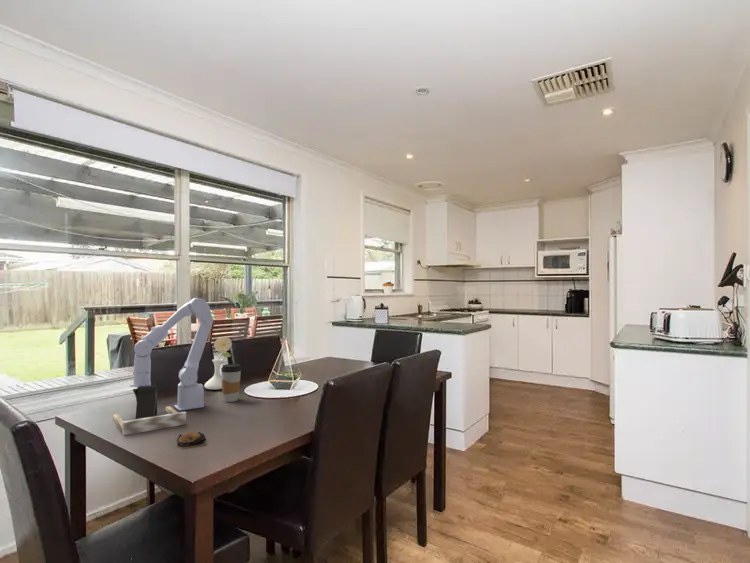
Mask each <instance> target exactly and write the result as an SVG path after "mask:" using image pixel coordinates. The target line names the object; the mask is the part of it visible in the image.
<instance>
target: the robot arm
mask: <svg viewBox="0 0 750 563" xmlns="http://www.w3.org/2000/svg"><path fill="white" fill-rule="evenodd" d="M210 307H211V306H210V305H209V304H208V303H207V301H206V300H205V299H203V298H200V297H193V298H191V299H190V300H189V301H188V302H186V303H185V304H183V305H182V306H181V307H180V308H178V309H177V311H175V312H174V313H173V314H172V315H171V316H170V317H169V318H168V319H166V321H165V322H164V323H163V324H161V325H160V324H159V325H158V324H157V325H156V326H152V327H151V328H150V331H148V333H147V334H145V336H142V337H141V338H140V339H141V340H139V341H137V342H136V343H135V344H134V347H133V351H134V360H133V383H131V384H129V387H131V388H133V387H134V388H133V389H132V391H133V393H134V395H135V396H134V397H135V399H136V402H137V391H138V387H139V386H150V385H152V383H151V374H152V373H151V372H152V371H151V370H152V367H151V366H152V364H151V363H152V359H151V353H152V352H153V348H156V347H157V346H158V345H159V344H160V343H161V342H163V340H165V339H166V338H167V337H168V336H169V330H171V329H172V328H173V327H175V326H176V324H178V323H179V322H180V321H182V320H183V319H184V318H185V317H189V316H193V315H195V317H196V319H197V320H198V327H197V330H196V333H195V335H194V338H193V341H192V344H191V347H190V349H189V352H188V355H187V358H186V360H185V362H184V365H183V366H182V368H181V369H179V372H178V378H179V380H180V382H179V383H178V384H177V403H176V404H174V406H173V407H174V408H176V410H178V411H181V412H182V411H186V410H193V409H194V410H195V409H200V408H204V407H205V405H204V404H205V402H204V401H205V399H204V398H205V390H204V389H205V387H204V385H203V384H202V383H198V378H199V377H198V372H199V366H200V365H199V364H200V360H201V359H202V355H203V352H204V350H205V346H206V344H207V341H208V337H209V335H210V332H211V329H212V326H213V324H214V318H213V316H212V312H211V308H210Z"/></svg>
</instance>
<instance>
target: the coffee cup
mask: <svg viewBox="0 0 750 563" xmlns="http://www.w3.org/2000/svg"><path fill="white" fill-rule="evenodd" d="M241 372H242V367H241V364H239V363H226V364H222V367H220V373H221V377H222V389H221V391H222V392H221V393H222V400H223V402H225V403H233V402H237V401H238V399H239V395H240V386H241Z"/></svg>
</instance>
